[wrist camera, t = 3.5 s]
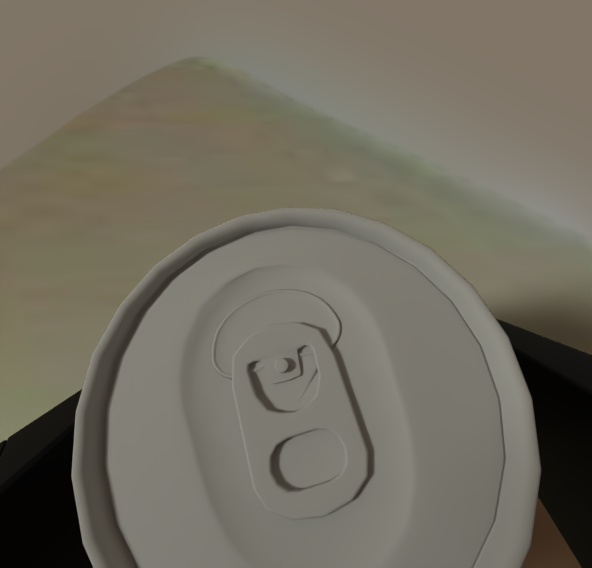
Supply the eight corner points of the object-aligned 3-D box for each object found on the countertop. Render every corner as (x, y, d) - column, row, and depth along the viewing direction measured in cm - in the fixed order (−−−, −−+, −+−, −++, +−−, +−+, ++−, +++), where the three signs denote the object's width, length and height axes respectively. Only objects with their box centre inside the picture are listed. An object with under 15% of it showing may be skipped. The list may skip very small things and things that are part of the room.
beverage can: (348, 327, 15) (422, 148, 4) (386, 431, 14) (694, 641, 2) (254, 357, 15) (48, 263, 4) (281, 465, 14) (68, 852, 2)
